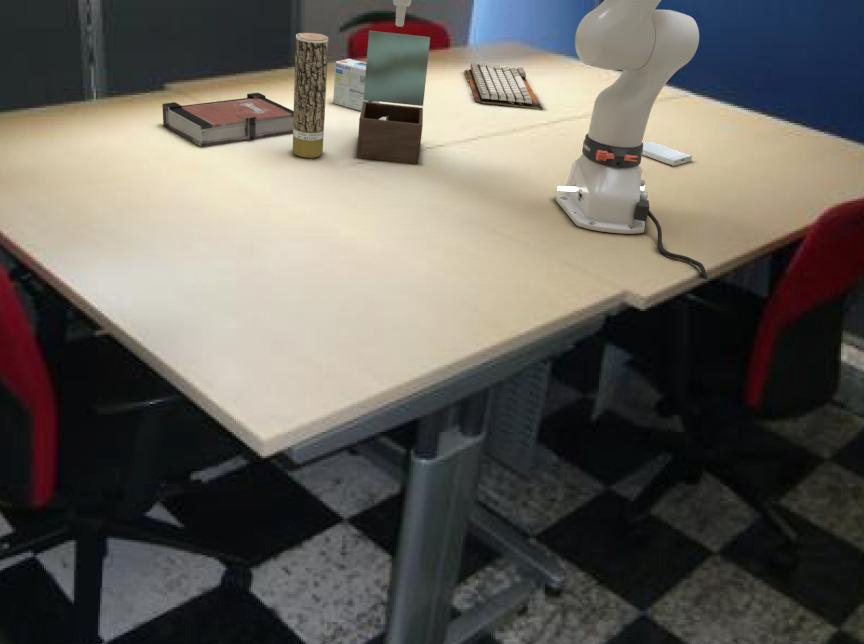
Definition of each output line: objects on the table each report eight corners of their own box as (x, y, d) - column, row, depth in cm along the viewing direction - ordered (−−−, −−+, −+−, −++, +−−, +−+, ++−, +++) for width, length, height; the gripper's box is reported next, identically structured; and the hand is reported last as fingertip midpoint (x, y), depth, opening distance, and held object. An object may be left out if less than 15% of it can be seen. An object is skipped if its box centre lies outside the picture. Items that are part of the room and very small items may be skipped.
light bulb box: (379, 108, 239) (383, 65, 233) (365, 112, 234) (368, 69, 228) (346, 99, 243) (349, 57, 237) (332, 103, 238) (334, 61, 232)
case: (418, 164, 204) (422, 125, 199) (356, 157, 203) (359, 118, 198) (418, 144, 215) (422, 107, 211) (360, 138, 215) (363, 101, 210)
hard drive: (632, 145, 226) (674, 159, 219) (650, 140, 231) (692, 154, 224) (630, 151, 227) (672, 166, 220) (649, 147, 232) (691, 161, 225)
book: (203, 147, 199) (202, 125, 196) (163, 125, 209) (162, 103, 206) (299, 133, 214) (300, 111, 211) (258, 113, 225) (258, 92, 222)
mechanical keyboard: (543, 109, 253) (545, 97, 251) (475, 104, 251) (477, 91, 250) (522, 76, 284) (524, 65, 283) (462, 71, 283) (463, 60, 281)
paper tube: (328, 155, 202) (335, 38, 189) (306, 161, 198) (311, 41, 184) (308, 147, 206) (313, 31, 192) (286, 152, 202) (289, 34, 188)
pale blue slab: (430, 37, 205) (430, 37, 206) (369, 30, 205) (369, 30, 206) (423, 106, 210) (423, 106, 211) (363, 99, 210) (363, 99, 210)
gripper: (391, -58, 194) (386, 11, 202) (390, -46, 177) (383, 29, 185) (420, -55, 195) (414, 14, 202) (421, -42, 177) (414, 32, 185)
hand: (399, 21), depth 193 cm, fingers open, 8 cm apart
